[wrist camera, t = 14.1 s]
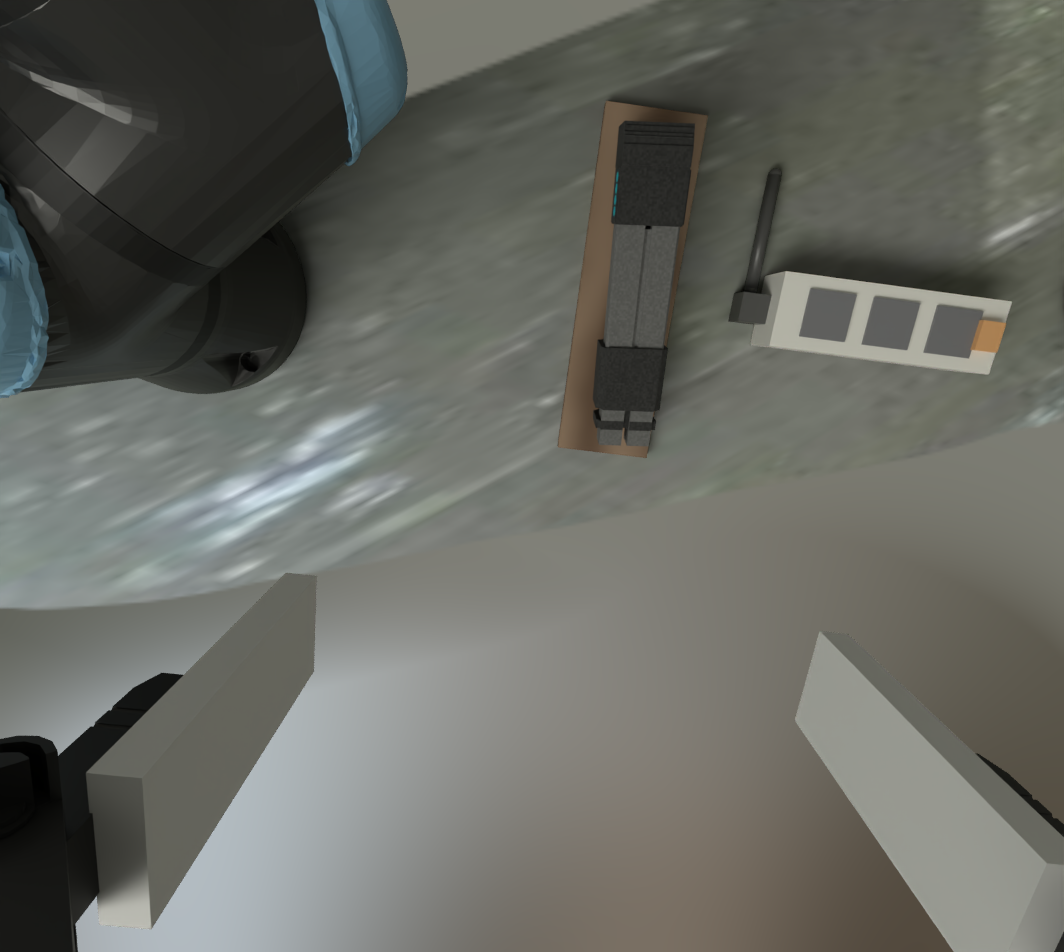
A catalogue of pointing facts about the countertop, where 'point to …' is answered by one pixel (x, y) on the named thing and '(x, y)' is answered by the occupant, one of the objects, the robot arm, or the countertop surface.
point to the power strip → (865, 314)
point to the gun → (640, 276)
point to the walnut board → (595, 276)
